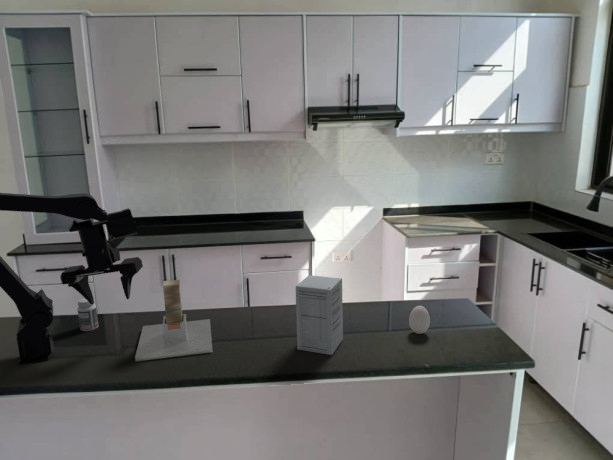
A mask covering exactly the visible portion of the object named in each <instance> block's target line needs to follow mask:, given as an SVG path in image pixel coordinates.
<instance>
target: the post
mask: <svg viewBox="0 0 613 460" xmlns="http://www.w3.org/2000/svg"><path fill="white" fill-rule="evenodd" d="M180 282H181V281H180V279H173V280H164V281H163V286H162V287H163V300H164V315H165V316H166V323H176V322H182V314H183V305H182V297H181V284H180Z"/></svg>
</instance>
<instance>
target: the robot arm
mask: <svg viewBox="0 0 613 460" xmlns="http://www.w3.org/2000/svg"><path fill="white" fill-rule="evenodd" d="M0 211H1V212H2V211H4V212H6V211H7V212H21V213H22V212H25V213H42V214H43V213H45V214H57V215H60V216H63V217H64V216H65V217H68V218H72V219H73V220H72V222H71V224H70V225H69V226H68V232H70V233H72V232H77V231H78V236H79V238H80V243H81V246H82V250H83V251H81V256H82V257H84V258H85V261H86V264H87V267H85V266H84V265H83V264H80V265H79V264H78V265H73V266H72V265H71V266H68V267H67V268H66V269H64V271H63V272H61V274H60V275H59V276H60V277H59V278H60V281H61V282H60V283H61V284H62V285H67V286H68V287H69V288H70V287H71V288H73V289H74V290H76V292H77V293H79V294H80V295H81V296H82V298H85V299H86V300H87V301H88V302H89V303H90V304H91V305H92V304H95V299H93V298H94V295H93V293H92V290H91V286H90V284H89V276H95V275H96V276H97V275H104V274H111V273H118V272H119V274H120V275H121V276H120V277H119V278H120V281H121V286H122V289H123V292H124V295H125V296H124V297H125V298H126V300H130V298H131V288H132V281H133V278H134V276H135V275H136V274H138V272H139V271H140V270H141V269H142V268H143V267H144V264H143V261H142V259H141V258H140V257H138V256H136V257H129V258H125V259H123V260H122V262H120V261H121V254H120V248H116V247H115V248H113V247H112V246H111V243H109V242H108V240H107V235H106V233H105V232H107V234H108V238H109V237H112V238H114V240H117V239H122V238H126V237H130V236H134V235H138V229H137V223H136V221H135V220H134V215H133V214H132V210H131V209H130V208H125V209H122V210H119V211H113V212H110V213H107V211H106V210H105V209H103V208H101V207H100V206H99V204H98V202H97V200H96V199H95V198H94V197H93V195H91V194H89V193H73V194H72V193H71V194H64V195H56V196H54V195H53V196H52V195H40V194H39V195H37V194H23V193H10V192H9V193H8V192H0ZM76 219H77V220H82V221H77V220H76ZM92 220H95V221H92ZM104 225H105V228H106V231H105V228H104ZM118 261H119V262H120V263H117V262H118ZM114 263H116V264H114ZM0 288H1V289H2V290H3V291H4V293H5V294H6V295H7V296H8V297H9V298H10V299H11V300H12V301H13V302H14V304H15V307H16V308H17V310H18V313H19V316H21V319H20V320H18V324H17V325H18V326H17V330H16V342H17V348H18V349H17V350H18V355H19V359H18V360H17V364H19V365H21V364H27V363H28V364H29V363H35V362H42V361H47V360H49V359H50V357H51V355H52V353H53V352H54V349H55V348H54V347H55V346H54V339H53V334H50V330H49V327H50V325H51V324H52V323H53V320H54V306H53V302H54V301H53V299H51V298H50V297H48V296H47V295H46V293H45V291H44V290H43V288H41V289H40V290H39V291H35V290H33V289H31V288H30V287H29V286H28V285H27V284H26V283H25V282H24V281H23V279H22V278H20V276H19V275H18V274H17V272H15V270H14V269H12V267H11V266H10V265H9V264H8V263H7V262H6V261H5V259H3V257H2V256H1V255H0Z"/></svg>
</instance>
